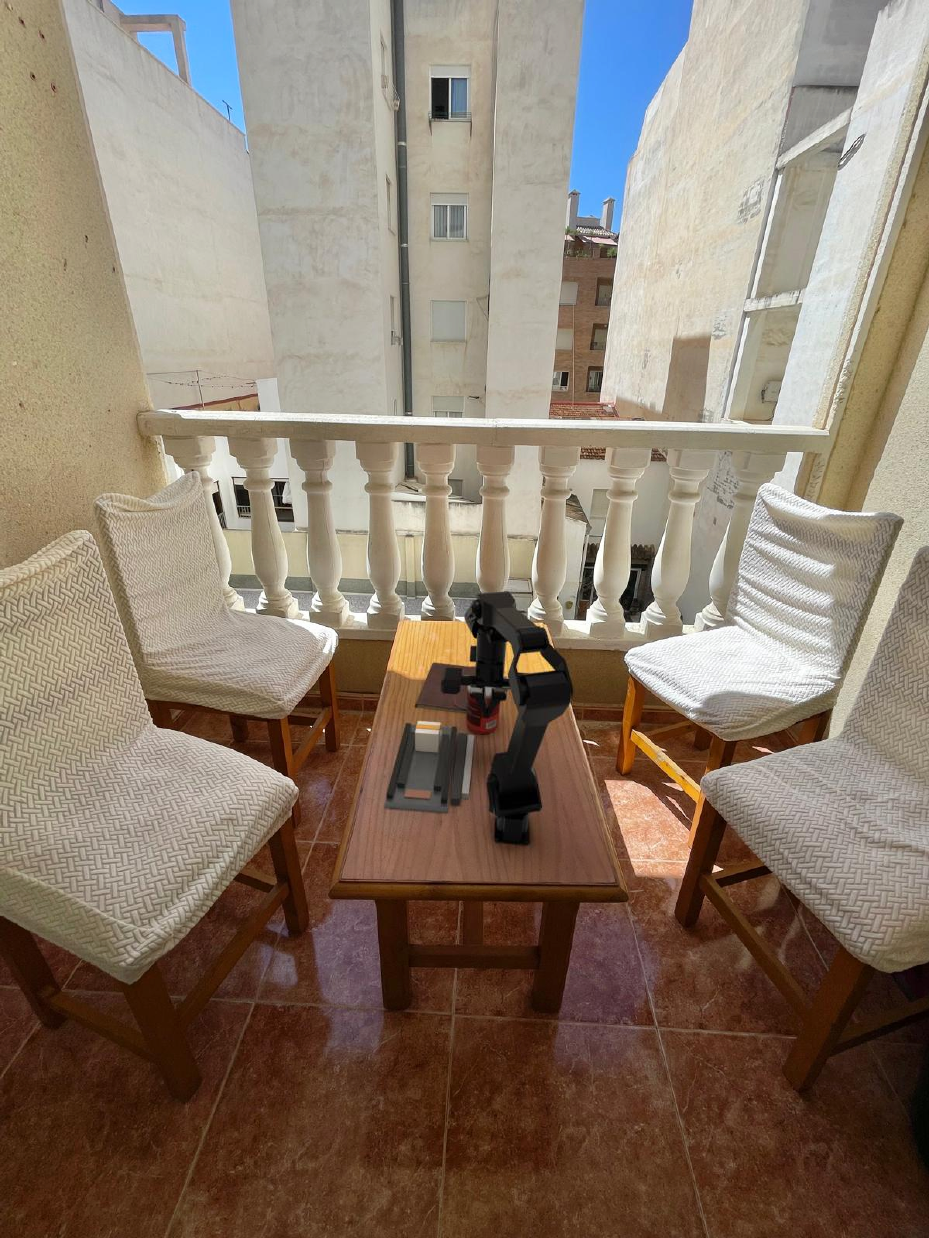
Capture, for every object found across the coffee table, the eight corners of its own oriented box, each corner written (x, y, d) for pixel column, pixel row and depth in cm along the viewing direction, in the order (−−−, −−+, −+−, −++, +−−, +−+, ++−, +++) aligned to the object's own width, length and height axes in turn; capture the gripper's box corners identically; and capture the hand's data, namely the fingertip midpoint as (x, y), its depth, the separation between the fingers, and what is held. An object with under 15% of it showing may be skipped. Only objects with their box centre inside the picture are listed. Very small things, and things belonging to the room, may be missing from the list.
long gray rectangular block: (467, 806, 108) (468, 799, 107) (450, 805, 108) (450, 798, 107) (473, 740, 126) (474, 733, 125) (459, 739, 126) (459, 732, 125)
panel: (446, 812, 106) (447, 802, 105) (385, 807, 107) (384, 797, 106) (457, 733, 128) (458, 723, 127) (406, 729, 128) (406, 720, 127)
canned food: (501, 717, 134) (504, 679, 129) (494, 738, 127) (497, 698, 122) (471, 711, 135) (472, 673, 130) (462, 731, 128) (463, 692, 123)
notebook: (414, 708, 136) (414, 702, 135) (432, 667, 154) (432, 660, 153) (474, 716, 134) (475, 709, 134) (485, 673, 152) (485, 667, 151)
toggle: (438, 752, 119) (438, 733, 117) (415, 750, 120) (415, 731, 117) (440, 740, 123) (440, 721, 120) (418, 738, 123) (417, 719, 121)
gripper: (537, 635, 113) (530, 697, 121) (447, 629, 114) (445, 691, 122) (539, 664, 104) (532, 730, 111) (441, 657, 105) (440, 723, 112)
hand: (486, 717), depth 114 cm, fingers closed
